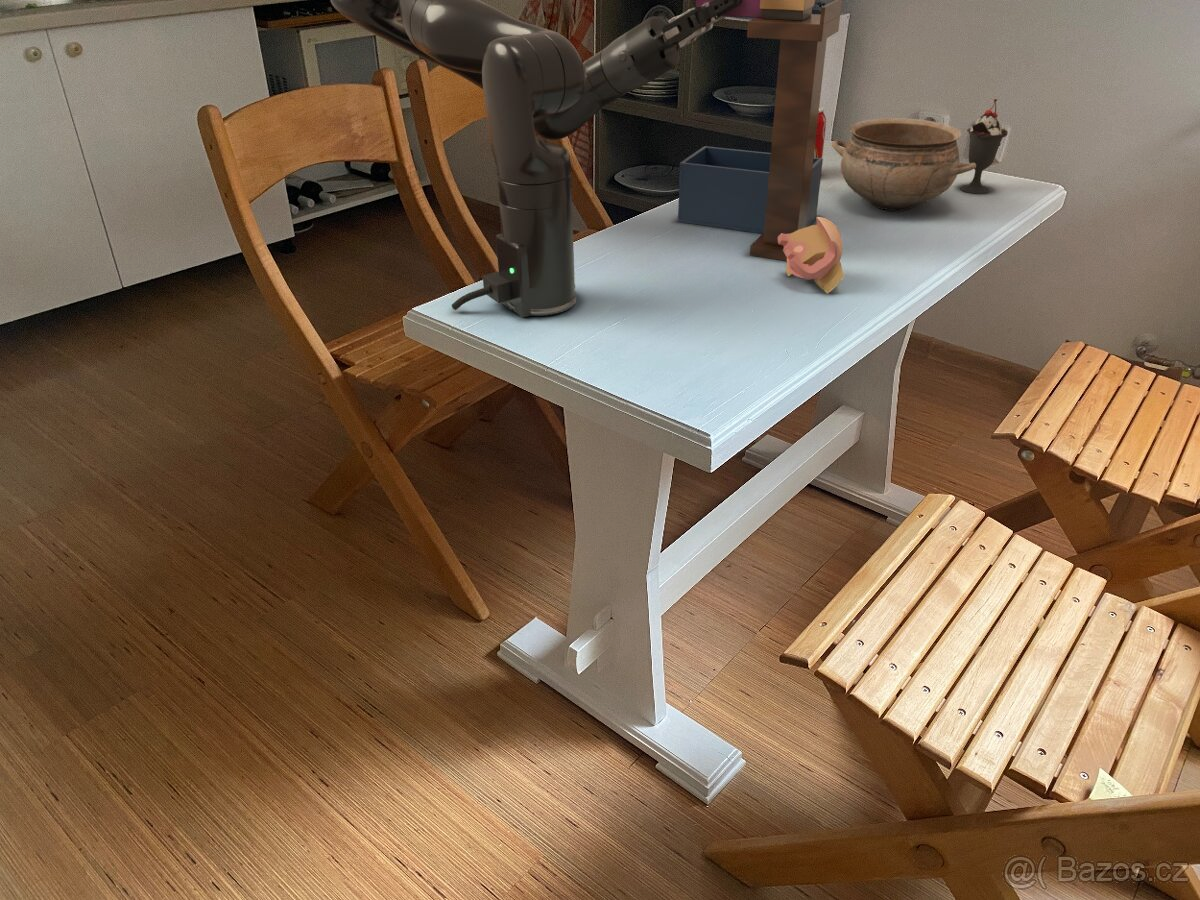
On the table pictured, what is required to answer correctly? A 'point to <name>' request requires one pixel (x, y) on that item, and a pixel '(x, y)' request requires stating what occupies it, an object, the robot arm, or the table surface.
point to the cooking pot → (900, 161)
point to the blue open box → (732, 189)
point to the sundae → (983, 147)
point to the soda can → (820, 134)
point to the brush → (770, 9)
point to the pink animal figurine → (815, 253)
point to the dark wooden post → (793, 120)
